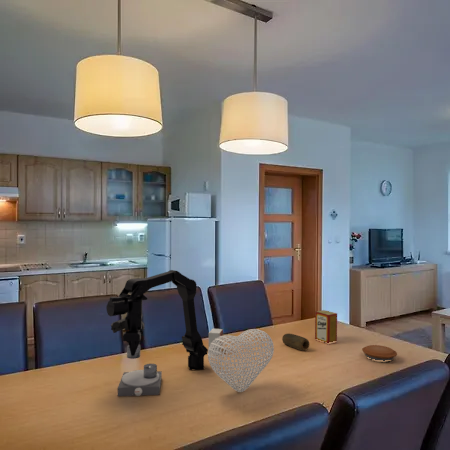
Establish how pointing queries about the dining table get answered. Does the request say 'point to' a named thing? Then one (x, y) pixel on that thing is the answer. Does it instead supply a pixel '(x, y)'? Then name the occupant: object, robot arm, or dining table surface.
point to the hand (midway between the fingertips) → (133, 353)
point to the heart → (233, 340)
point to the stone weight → (296, 341)
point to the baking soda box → (326, 326)
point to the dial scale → (139, 384)
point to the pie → (379, 352)
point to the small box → (213, 335)
